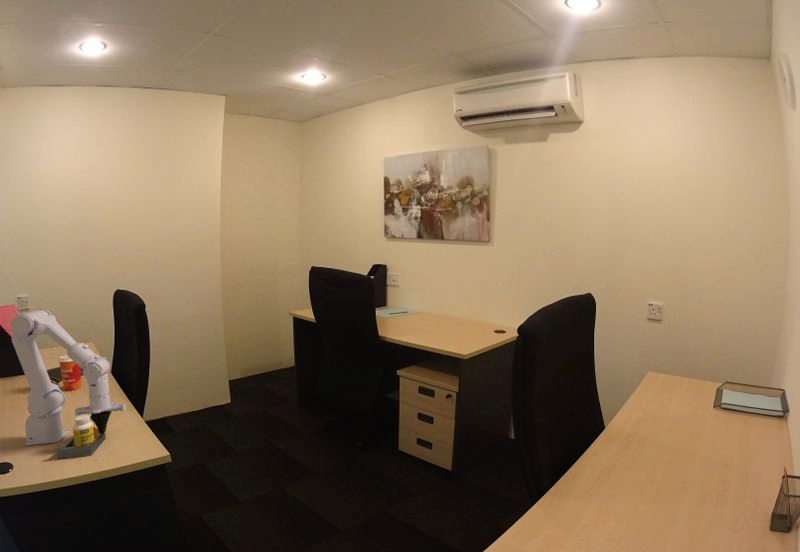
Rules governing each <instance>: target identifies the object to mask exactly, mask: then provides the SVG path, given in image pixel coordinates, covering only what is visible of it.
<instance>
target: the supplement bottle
mask: <svg viewBox="0 0 800 552" xmlns="http://www.w3.org/2000/svg"><path fill="white" fill-rule="evenodd" d="M90 416H91V415H89V414H81V415H78V416H77V417H75V418H74V423H75V424H74V425H73V426H72V433H73V435H72V436H74V446H73V447H75V446H84V445H92V444H93V442H94V441H95V438H94V430H93V427H94V422H93V421H92V420H91V418H90Z"/></svg>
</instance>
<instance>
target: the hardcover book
mask: <svg viewBox="0 0 800 552" xmlns="http://www.w3.org/2000/svg"><path fill="white" fill-rule="evenodd" d="M46 371H47V373H48V376H49V378H50V380H52V381H55V382H57V383H61V382H63V380H62V374H61V368H60V366H57V367H53V368H50V369H46ZM82 371H84V370H83V369H82V368H81V377H84V375H83V373H82Z"/></svg>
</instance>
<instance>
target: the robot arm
mask: <svg viewBox="0 0 800 552" xmlns="http://www.w3.org/2000/svg"><path fill="white" fill-rule="evenodd" d="M9 325H10V326H9V327H10V328H11V342H12V345H13V347H14V349H15V353H16V355H17V358H18V360H19V363H20V365H21V368H22V370H23V372H24V375H25V378H26V380H27V383H28V385H29V389H30V392H29V393H28V395H27V397H26V402H27V411H28V413H29V416H28V417H27V418H26V420H25V438H26V444H25V446H33V445H34V446H35V445H43V444H51V443H52V444H53V443H58V442H61V440H63V438H64V437H65V436H67V435H68V434H69V433H70V430H64V423H63V422H64V421H63V411H62V410H63V405H64V404H65V403H66V395H65V394H64V392H63V391H62V390H61V389H60V387H59V384H56V383H53V382H51V381H50V378H49V376H48V373H47V371H46V370H47V368H46V366H45V364H44V361H43V358H42V355H41V353H40V350H39V348H38V345H37V343H36V342H37V341H36V338H37V337H38V336H39V335H43V336H44V335H46V336H48V337H49V338H51V339H52V340H53V341H55V342H56V343H57V344H59V345H60V346H61V347H63V348H64V349H65V350H66V355H67V356H68V357H69V358H71V359H72V360H73V361H74V362H75V363H76V364H77V365H79V366H80V367H81V368H82V369H83V370H84V371H82V373H83V375H84V376H85V378H86V381H87V384H88V385H87V388H88V395H89V405H88V406H82V407H77V408H76V409H74V415H75V416H77V417H78V416H81V415H89V414H90V415H89V416H90V421H91V422H92V423H93V424H95V427H96V428H98V430H99V433H100V434H101V433H105V434H106V432H107V424H108V421H109V418H110V415H111V414H112V412H118V411H119V412H125V410H127V409H126V407H127V406H126V403H113V402H112V403H111V397H110V383H109V382H110V381H109V374H108V372H109V371H110V370H111V367H112V365H111V363H110V360H109V359H108V358H106V357H104V356H100V355H98V354H96V353H95V352H94V351H92V349H90V346H89V345H88V344H85V343H84V342H77V341H76V340H75V339H74V338H73V337H72V336H71V335H70V334H69V333H68V331H66V329H64V328H63V327H62V326H61V325H60V324H59V323H58V321H57V318H56V316H55V315H53V314H52V313H51V312H50V311H49V310H47V309H44V308H39V309H36V310H33V311H29V312H25V313H21V314H20V313H19V314H17V315H16V316H14V318H13V319H12V320H11V321H10V323H9Z"/></svg>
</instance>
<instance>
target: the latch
mask: <svg viewBox="0 0 800 552" xmlns="http://www.w3.org/2000/svg"><path fill="white" fill-rule="evenodd" d="M93 430H94V439H97V438H98V437H99V436H100V433H99V430H98V428H97V427H96V426H93Z"/></svg>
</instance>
